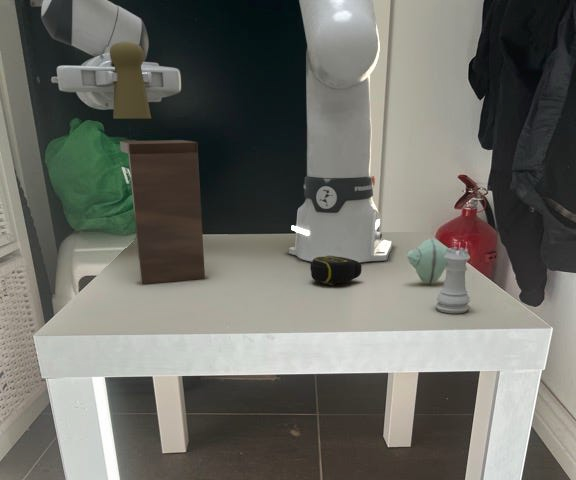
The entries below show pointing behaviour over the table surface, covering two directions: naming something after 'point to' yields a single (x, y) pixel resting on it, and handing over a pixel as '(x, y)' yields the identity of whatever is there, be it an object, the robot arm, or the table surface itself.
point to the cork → (129, 82)
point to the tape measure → (334, 269)
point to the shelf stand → (166, 209)
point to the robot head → (428, 260)
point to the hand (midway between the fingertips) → (130, 77)
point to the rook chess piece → (454, 283)
